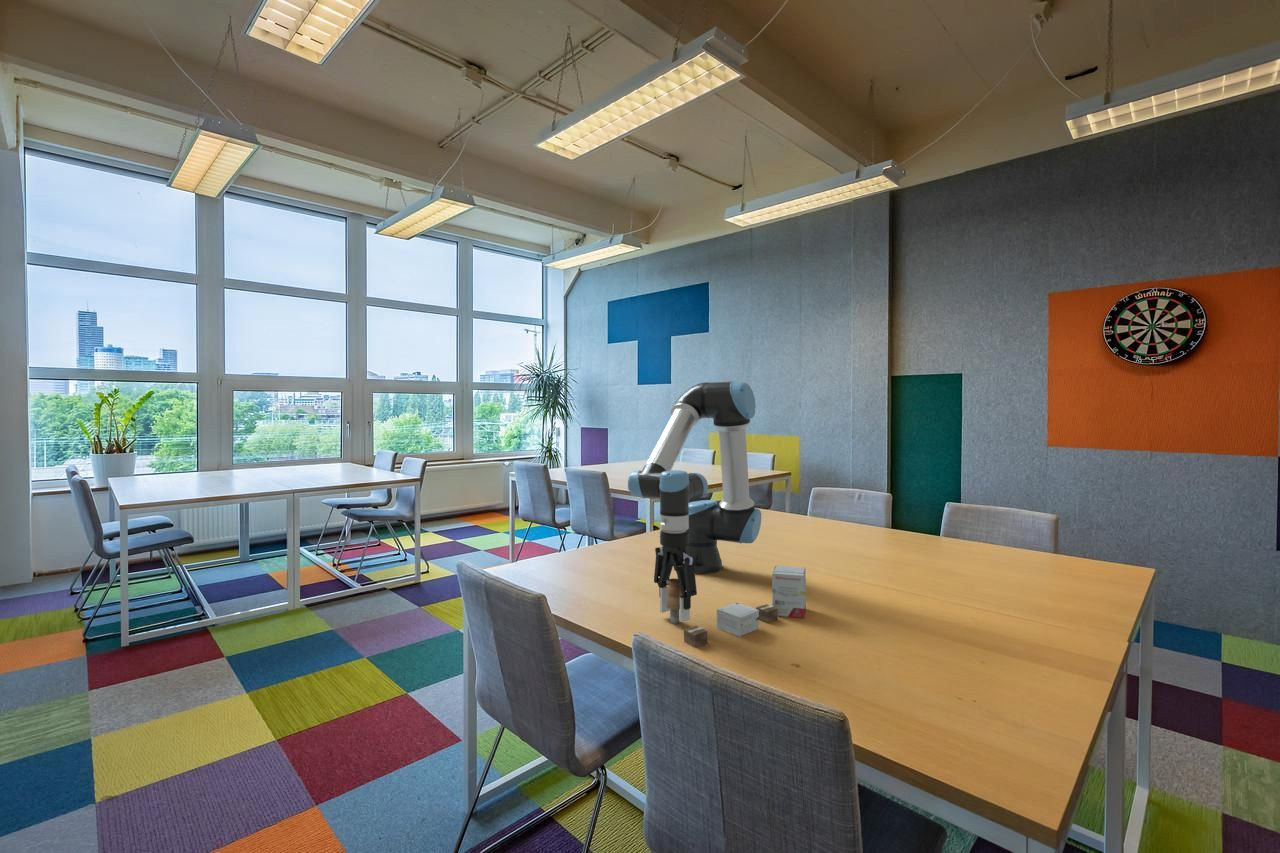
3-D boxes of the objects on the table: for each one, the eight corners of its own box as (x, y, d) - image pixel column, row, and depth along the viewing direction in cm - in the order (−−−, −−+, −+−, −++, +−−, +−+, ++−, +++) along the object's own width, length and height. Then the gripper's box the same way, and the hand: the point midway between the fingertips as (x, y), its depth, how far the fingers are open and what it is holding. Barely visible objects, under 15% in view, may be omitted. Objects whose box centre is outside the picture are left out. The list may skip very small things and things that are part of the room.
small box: (739, 637, 143) (739, 617, 143) (716, 628, 149) (715, 608, 149) (759, 629, 148) (759, 609, 148) (735, 620, 154) (735, 601, 154)
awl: (675, 617, 156) (675, 577, 155) (685, 622, 152) (685, 581, 152) (663, 621, 153) (663, 580, 153) (673, 626, 150) (673, 584, 149)
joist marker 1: (696, 637, 143) (696, 625, 142) (707, 643, 139) (707, 630, 139) (683, 641, 140) (683, 628, 140) (694, 647, 137) (694, 634, 137)
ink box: (806, 608, 162) (806, 566, 162) (804, 619, 154) (804, 575, 153) (774, 604, 165) (775, 563, 164) (771, 615, 157) (771, 572, 156)
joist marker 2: (766, 615, 157) (766, 603, 157) (777, 619, 154) (777, 607, 154) (755, 618, 155) (755, 606, 155) (767, 623, 151) (767, 611, 151)
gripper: (640, 525, 158) (640, 607, 159) (688, 539, 141) (689, 631, 142) (661, 521, 162) (662, 601, 163) (711, 535, 145) (711, 624, 146)
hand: (674, 615), depth 153 cm, fingers open, 8 cm apart
